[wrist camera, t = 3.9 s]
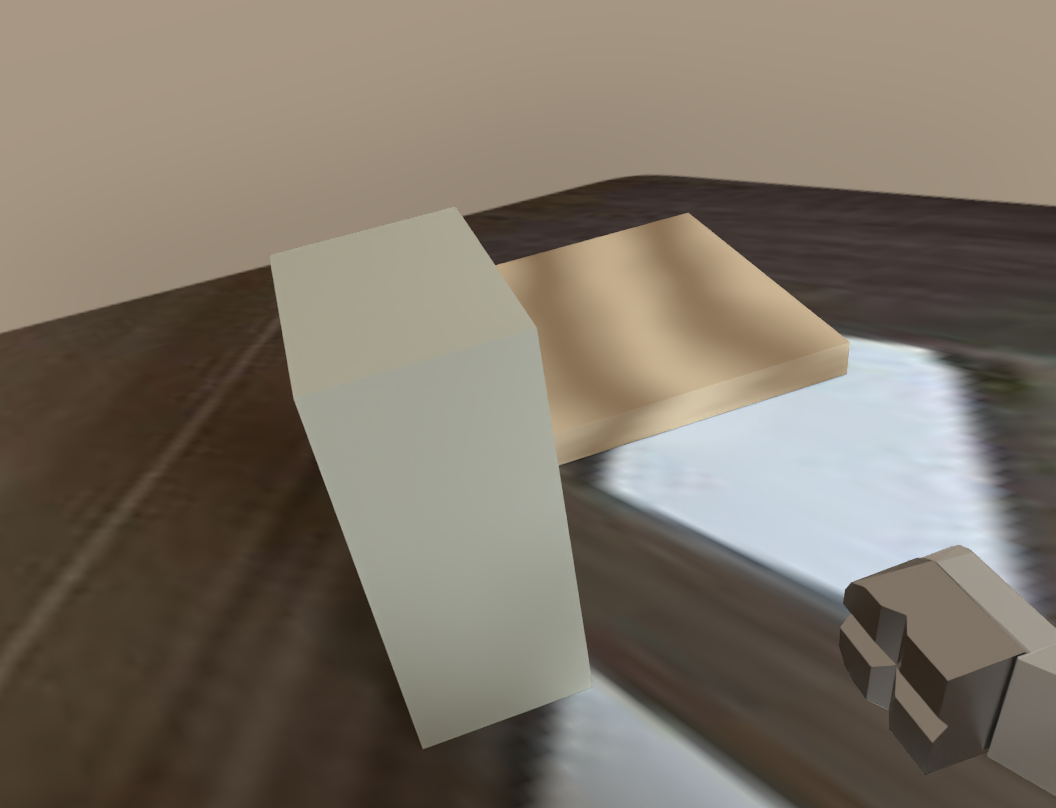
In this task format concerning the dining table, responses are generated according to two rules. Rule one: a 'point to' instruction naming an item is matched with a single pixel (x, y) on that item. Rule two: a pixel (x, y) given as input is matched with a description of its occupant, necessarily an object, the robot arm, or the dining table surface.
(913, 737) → the robot arm
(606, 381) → the cutting board
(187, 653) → the dining table surface
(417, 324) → the sage block
